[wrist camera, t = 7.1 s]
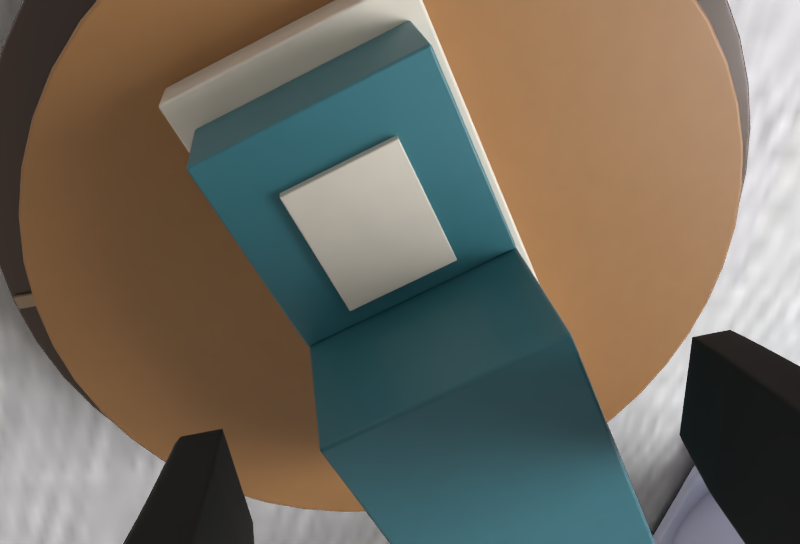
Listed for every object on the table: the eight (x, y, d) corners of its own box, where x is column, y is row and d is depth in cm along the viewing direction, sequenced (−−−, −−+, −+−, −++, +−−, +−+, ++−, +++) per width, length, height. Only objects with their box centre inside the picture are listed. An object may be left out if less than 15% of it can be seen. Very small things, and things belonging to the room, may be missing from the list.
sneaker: (758, 330, 19) (951, 518, 14) (271, 552, 21) (274, 803, 15) (625, -323, 12) (945, -467, 6) (-151, 97, 13) (-450, 283, 7)
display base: (766, -262, 14) (822, -274, 13) (680, 399, 23) (707, 434, 21) (-155, -150, 12) (-205, -149, 11) (139, 509, 21) (131, 554, 20)
